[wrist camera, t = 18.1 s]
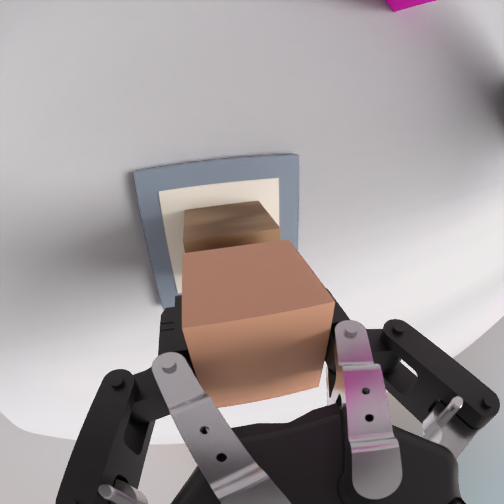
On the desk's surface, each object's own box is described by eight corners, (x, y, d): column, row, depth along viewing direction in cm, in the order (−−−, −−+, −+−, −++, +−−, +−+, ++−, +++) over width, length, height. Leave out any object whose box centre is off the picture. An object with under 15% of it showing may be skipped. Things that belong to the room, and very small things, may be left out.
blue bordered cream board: (294, 153, 19) (299, 155, 18) (292, 284, 24) (296, 290, 23) (135, 170, 17) (133, 173, 16) (164, 304, 22) (163, 310, 21)
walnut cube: (258, 200, 19) (280, 228, 14) (261, 264, 21) (280, 304, 17) (184, 210, 18) (182, 241, 14) (195, 274, 20) (198, 317, 16)
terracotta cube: (288, 239, 13) (335, 301, 9) (286, 318, 16) (318, 386, 11) (182, 253, 12) (182, 328, 8) (199, 333, 15) (207, 409, 10)
